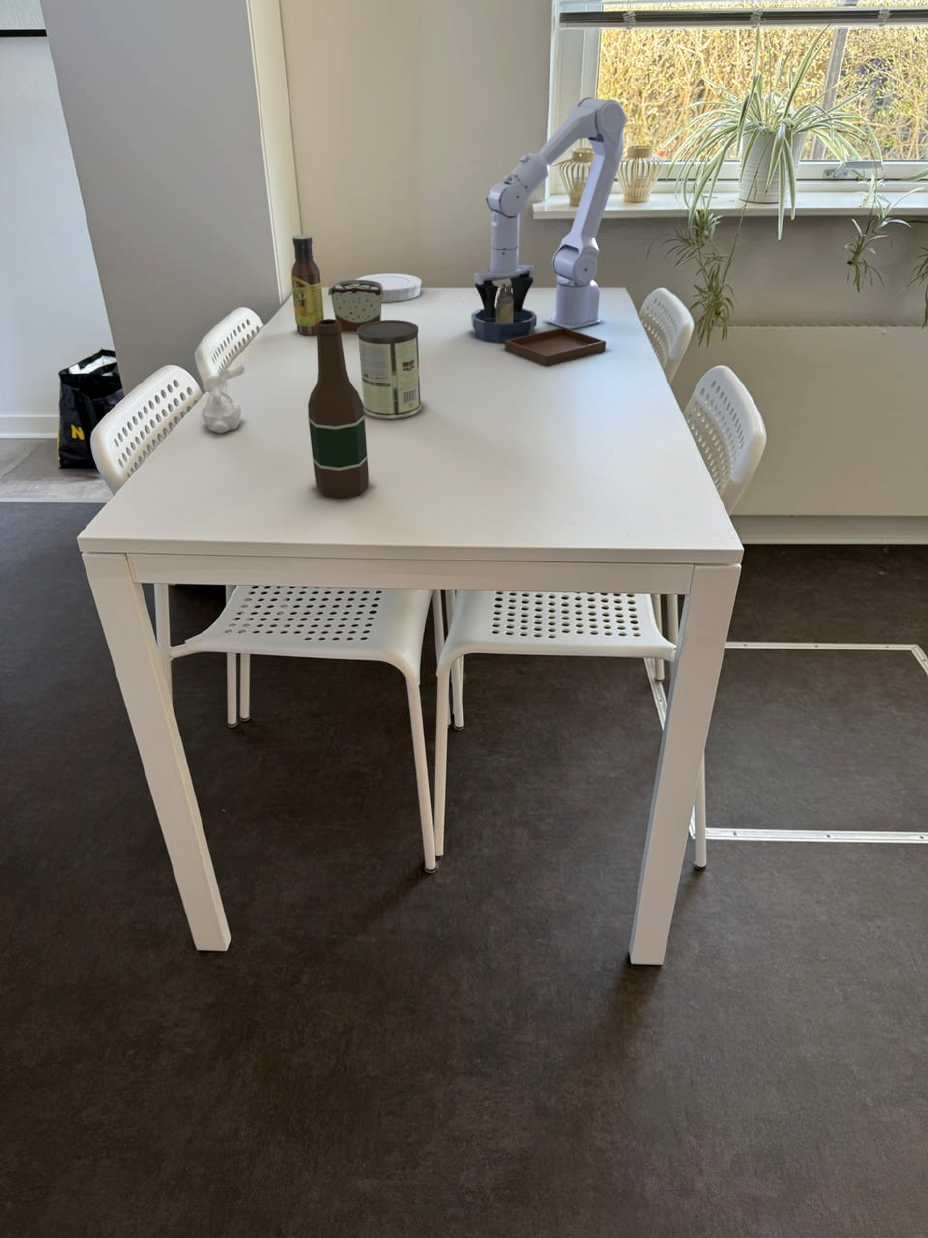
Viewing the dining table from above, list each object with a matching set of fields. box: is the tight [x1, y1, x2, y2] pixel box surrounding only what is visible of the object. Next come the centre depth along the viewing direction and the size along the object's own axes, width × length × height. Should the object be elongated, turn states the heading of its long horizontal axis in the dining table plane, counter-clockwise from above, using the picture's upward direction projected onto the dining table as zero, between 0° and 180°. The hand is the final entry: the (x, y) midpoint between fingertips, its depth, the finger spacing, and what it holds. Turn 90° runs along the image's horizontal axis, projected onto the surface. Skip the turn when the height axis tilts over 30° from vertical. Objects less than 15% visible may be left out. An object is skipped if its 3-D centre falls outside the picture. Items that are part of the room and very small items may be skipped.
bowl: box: [470, 306, 538, 344], centre depth 193 cm, size 14×14×4 cm
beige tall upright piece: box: [495, 283, 514, 323], centre depth 192 cm, size 7×4×10 cm, turn 172°
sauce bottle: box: [290, 234, 325, 336], centre depth 191 cm, size 6×6×20 cm
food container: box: [327, 279, 385, 334], centre depth 195 cm, size 12×6×10 cm, turn 84°
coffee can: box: [356, 319, 422, 420], centre depth 153 cm, size 10×10×14 cm
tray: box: [504, 327, 607, 367], centre depth 184 cm, size 16×13×2 cm
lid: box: [355, 273, 422, 303], centre depth 223 cm, size 17×20×3 cm
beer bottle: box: [307, 318, 370, 499], centre depth 124 cm, size 8×8×24 cm
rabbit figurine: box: [201, 363, 245, 434], centre depth 149 cm, size 12×8×10 cm, turn 9°
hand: (503, 313), depth 192 cm, fingers open, 7 cm apart
